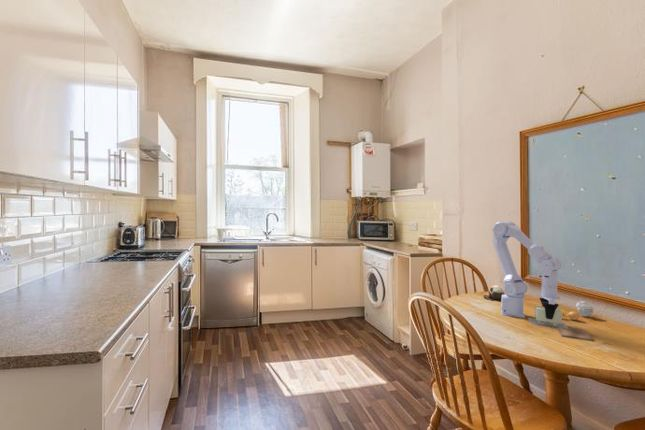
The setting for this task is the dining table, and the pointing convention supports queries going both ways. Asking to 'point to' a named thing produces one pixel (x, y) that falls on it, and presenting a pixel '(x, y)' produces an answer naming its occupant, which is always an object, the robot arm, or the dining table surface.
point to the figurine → (572, 315)
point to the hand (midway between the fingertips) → (547, 316)
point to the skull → (494, 293)
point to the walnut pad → (574, 334)
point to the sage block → (541, 315)
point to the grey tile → (547, 323)
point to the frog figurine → (584, 309)
